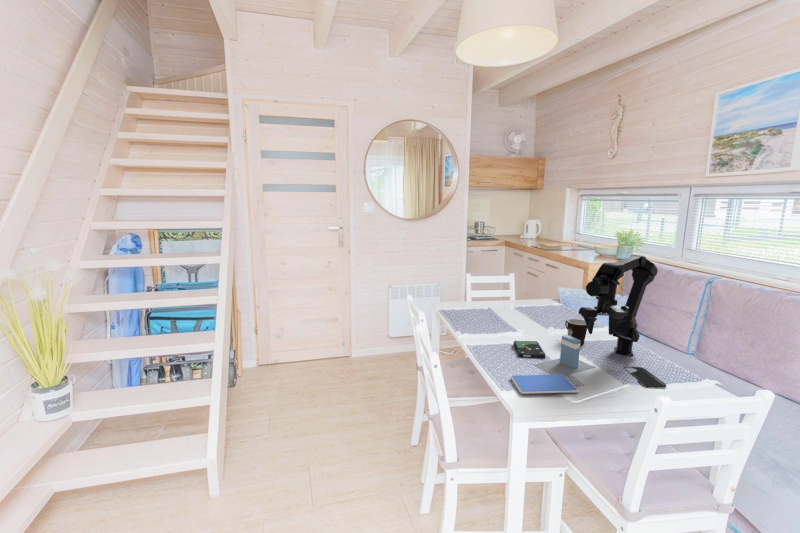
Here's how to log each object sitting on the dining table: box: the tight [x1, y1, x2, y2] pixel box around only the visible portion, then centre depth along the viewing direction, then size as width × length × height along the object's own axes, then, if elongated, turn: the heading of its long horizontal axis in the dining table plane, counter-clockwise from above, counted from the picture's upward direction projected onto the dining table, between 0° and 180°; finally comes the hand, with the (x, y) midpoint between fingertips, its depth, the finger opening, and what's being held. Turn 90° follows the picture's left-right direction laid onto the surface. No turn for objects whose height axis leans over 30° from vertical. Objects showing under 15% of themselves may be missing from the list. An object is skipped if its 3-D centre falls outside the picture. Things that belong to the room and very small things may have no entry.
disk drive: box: [513, 340, 546, 359], centre depth 166 cm, size 10×3×15 cm
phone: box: [622, 366, 667, 388], centre depth 143 cm, size 8×1×15 cm
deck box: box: [559, 334, 581, 369], centre depth 151 cm, size 3×6×11 cm, turn 26°
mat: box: [533, 357, 596, 377], centre depth 151 cm, size 20×12×1 cm, turn 116°
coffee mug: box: [564, 318, 588, 347], centre depth 177 cm, size 12×9×10 cm
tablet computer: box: [510, 373, 579, 395], centre depth 136 cm, size 19×13×1 cm, turn 91°
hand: (600, 334), depth 155 cm, fingers open, 9 cm apart
